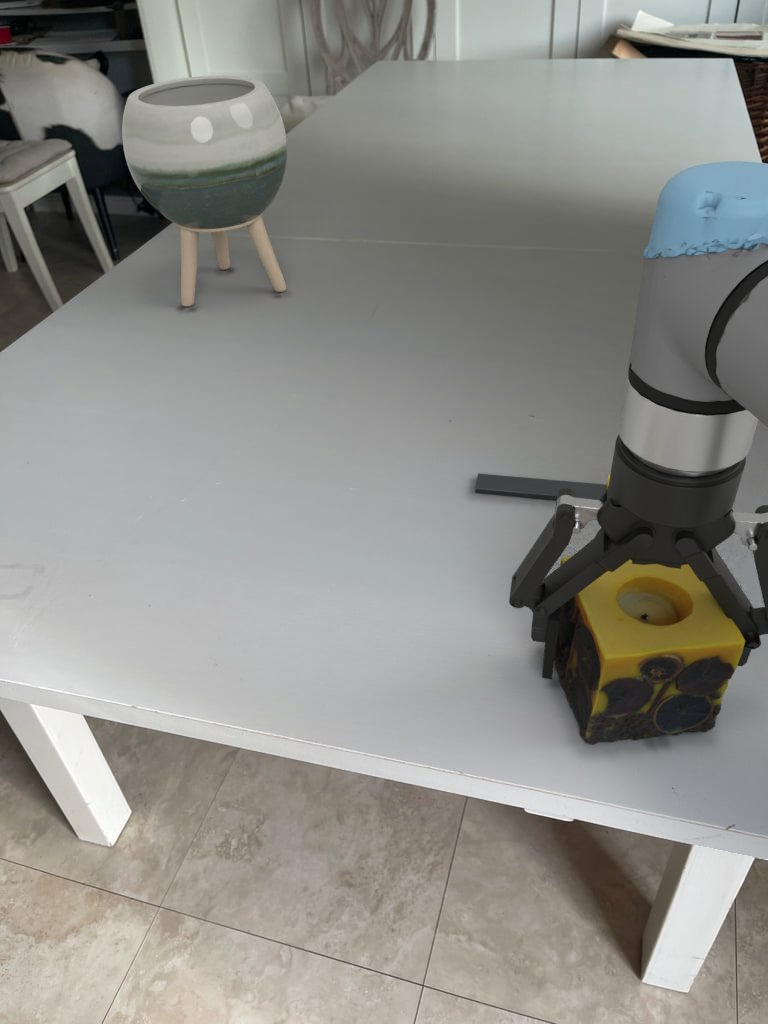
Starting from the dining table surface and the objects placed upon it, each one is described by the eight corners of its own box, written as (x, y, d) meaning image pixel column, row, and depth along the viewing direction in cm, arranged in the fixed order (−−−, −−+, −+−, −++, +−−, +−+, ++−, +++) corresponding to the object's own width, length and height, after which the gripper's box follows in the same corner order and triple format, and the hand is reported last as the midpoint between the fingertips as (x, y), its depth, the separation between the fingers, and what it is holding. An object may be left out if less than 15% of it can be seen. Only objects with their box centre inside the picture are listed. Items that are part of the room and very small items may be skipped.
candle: (545, 644, 66) (555, 554, 60) (664, 630, 67) (687, 540, 61) (582, 749, 59) (598, 659, 52) (716, 733, 59) (749, 641, 53)
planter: (217, 252, 136) (184, 68, 119) (329, 271, 128) (311, 76, 110) (128, 305, 122) (75, 104, 104) (248, 331, 113) (212, 117, 95)
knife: (709, 497, 80) (712, 483, 79) (711, 515, 78) (715, 500, 77) (478, 477, 84) (478, 463, 83) (474, 493, 82) (475, 479, 81)
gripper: (882, 422, 49) (785, 658, 63) (488, 395, 53) (479, 621, 67) (919, 498, 43) (803, 739, 57) (475, 462, 48) (467, 693, 61)
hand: (628, 675), depth 62 cm, fingers closed on candle, 11 cm apart
